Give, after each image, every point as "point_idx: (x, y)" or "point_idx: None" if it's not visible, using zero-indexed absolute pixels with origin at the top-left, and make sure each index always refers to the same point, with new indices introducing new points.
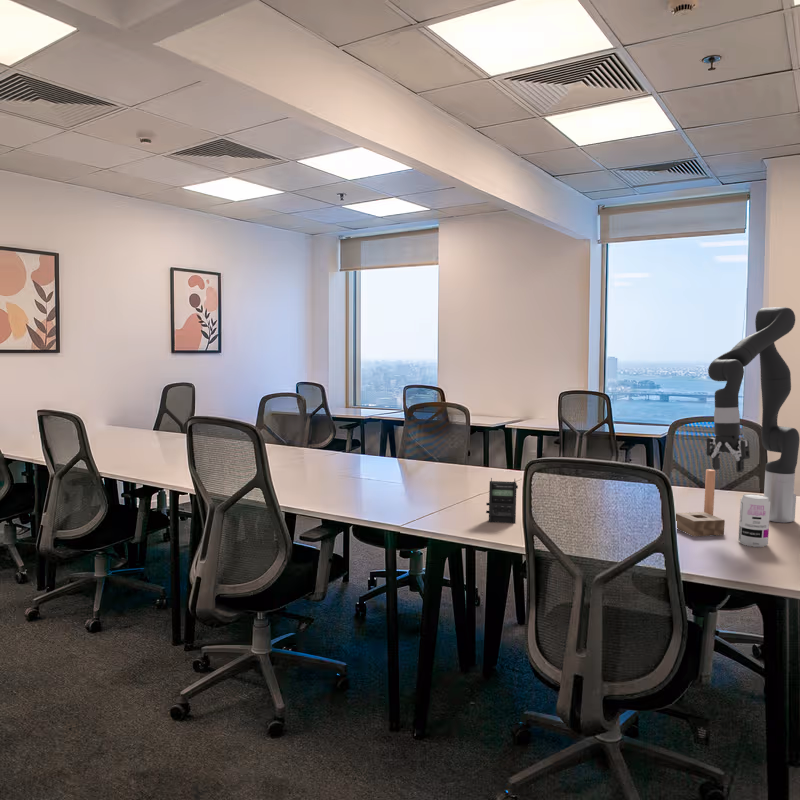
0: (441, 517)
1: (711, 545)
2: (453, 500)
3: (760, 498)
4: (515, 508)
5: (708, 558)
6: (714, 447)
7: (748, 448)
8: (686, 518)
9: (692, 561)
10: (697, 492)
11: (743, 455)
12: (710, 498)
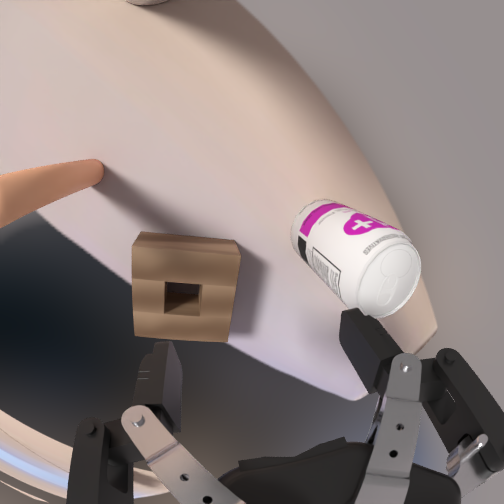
0: None
1: (290, 322)
2: (21, 447)
3: (407, 281)
4: None
5: (338, 363)
6: (100, 483)
7: (490, 405)
8: (192, 339)
9: (335, 385)
10: None
11: (439, 404)
12: (72, 187)
